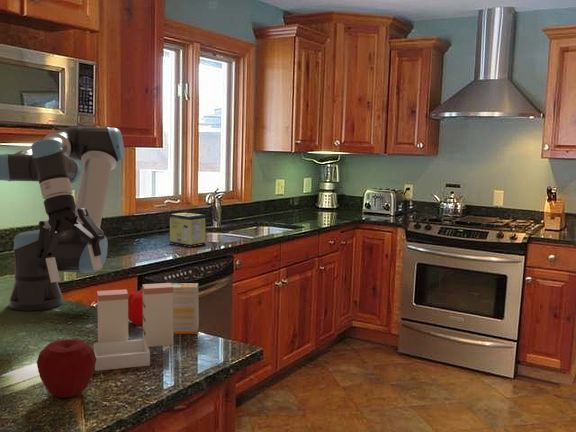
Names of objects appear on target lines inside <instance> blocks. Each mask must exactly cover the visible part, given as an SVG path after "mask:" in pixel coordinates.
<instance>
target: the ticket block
mask: <svg viewBox="0 0 576 432" xmlns="http://www.w3.org/2000/svg"><path fill="white" fill-rule="evenodd" d="M171 283H172V282H165V283H164V282H163V283H162V282H160V283H145V284H141V285H142V290H143V300H142V304H143V313H142V317H143V326H141V327H142V328H141V329H142V339H146V342H147V345H148V348H150V347H151V348H152V347H153V348H154V347H161V346H162V347H163V346H173V345H174V334H173V286H172V284H171Z"/></svg>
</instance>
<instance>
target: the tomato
mask: <svg viewBox="0 0 576 432" xmlns="http://www.w3.org/2000/svg"><path fill="white" fill-rule="evenodd" d="M142 300H143V290H142V287H141V286H140V289H139V290H137V291H133V292H131V293H129V294H128V321H130V322H131V323H132V324H134V325H136V326H139V327H143V317H142V313H143V304H142Z"/></svg>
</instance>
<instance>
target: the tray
mask: <svg viewBox="0 0 576 432" xmlns="http://www.w3.org/2000/svg"><path fill="white" fill-rule="evenodd" d="M93 351H94V353H95V356H96V363H95V368H94V371H95V372H98V371H107V370H119V369H126V368H127V369H128V368H136V367H137V368H139V367H147V366H151V351H150V347H148V345H147V342H146V339H143V338H142V339H131V340H129V339H128V341H118V342H106V343H98V342H96V343H95V342H94V343H93Z"/></svg>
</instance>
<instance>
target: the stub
mask: <svg viewBox="0 0 576 432" xmlns="http://www.w3.org/2000/svg"><path fill="white" fill-rule="evenodd" d="M96 293H97V298H96V299H97V300H96V301H97V343H106V342H118V341H129V319H128V296H129V294H128V293H129V292H128V290H127V288H125V289H110V290H108V289H107V290H97V291H96Z"/></svg>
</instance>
